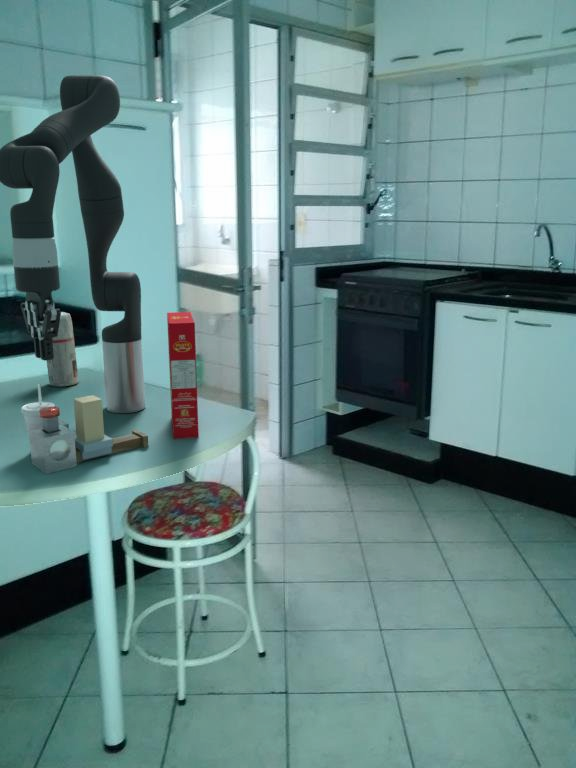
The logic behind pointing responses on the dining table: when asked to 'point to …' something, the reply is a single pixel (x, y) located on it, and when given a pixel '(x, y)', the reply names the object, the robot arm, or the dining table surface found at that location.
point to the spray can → (63, 355)
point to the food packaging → (183, 374)
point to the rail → (122, 444)
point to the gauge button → (50, 419)
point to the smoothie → (34, 412)
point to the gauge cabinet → (53, 449)
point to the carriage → (90, 427)
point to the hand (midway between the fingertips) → (44, 358)
